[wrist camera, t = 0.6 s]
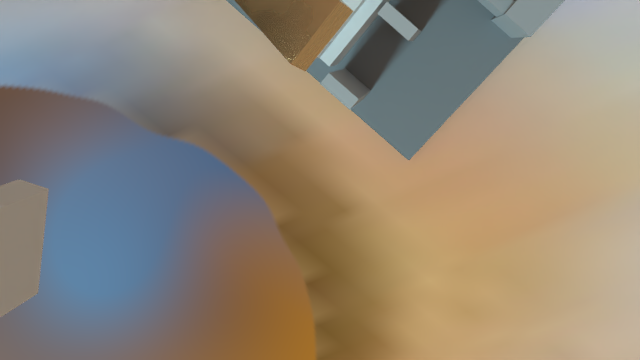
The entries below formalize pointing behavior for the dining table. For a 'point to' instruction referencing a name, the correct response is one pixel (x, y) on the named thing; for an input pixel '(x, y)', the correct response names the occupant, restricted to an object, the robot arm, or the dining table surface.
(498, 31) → the base plate
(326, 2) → the strap
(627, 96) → the dining table surface
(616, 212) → the dining table surface
